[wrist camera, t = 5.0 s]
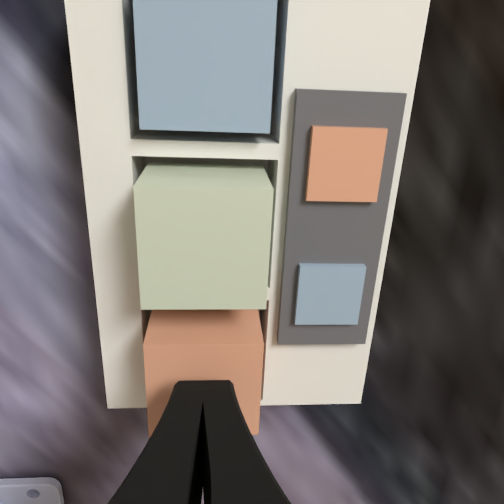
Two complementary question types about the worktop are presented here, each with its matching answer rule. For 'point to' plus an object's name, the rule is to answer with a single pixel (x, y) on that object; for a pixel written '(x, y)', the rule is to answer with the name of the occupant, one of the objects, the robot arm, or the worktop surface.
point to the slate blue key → (205, 64)
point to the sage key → (203, 236)
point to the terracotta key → (204, 356)
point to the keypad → (280, 175)
